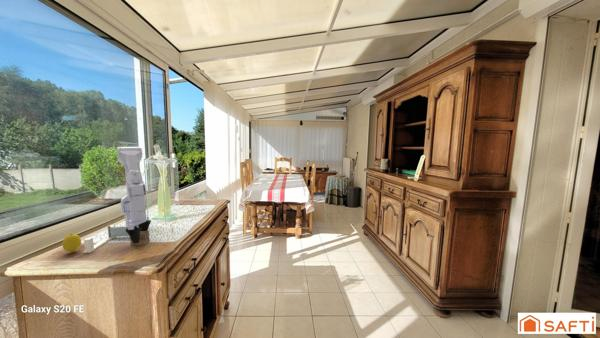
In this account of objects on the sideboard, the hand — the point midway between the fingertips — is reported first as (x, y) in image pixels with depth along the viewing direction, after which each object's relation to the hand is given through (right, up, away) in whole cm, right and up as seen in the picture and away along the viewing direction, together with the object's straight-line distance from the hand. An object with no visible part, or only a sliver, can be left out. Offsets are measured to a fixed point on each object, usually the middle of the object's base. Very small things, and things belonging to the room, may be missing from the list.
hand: (140, 239), depth 105 cm
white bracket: (-17, -2, 0) cm, 17 cm away
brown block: (0, -2, 0) cm, 2 cm away
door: (-13, 0, +7) cm, 15 cm away
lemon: (-22, -3, -9) cm, 24 cm away
